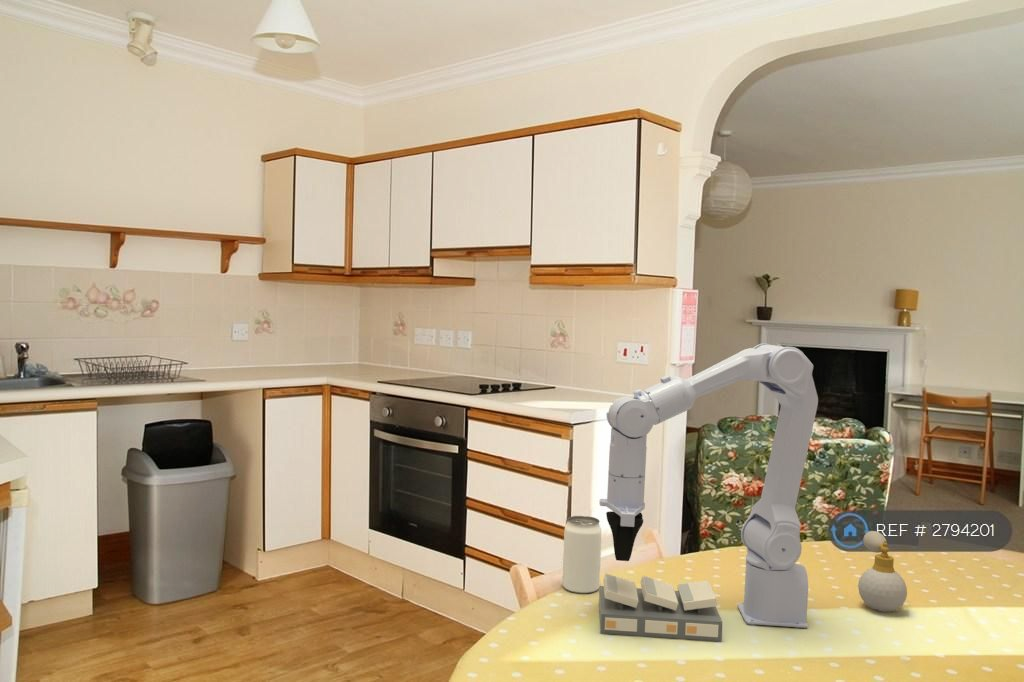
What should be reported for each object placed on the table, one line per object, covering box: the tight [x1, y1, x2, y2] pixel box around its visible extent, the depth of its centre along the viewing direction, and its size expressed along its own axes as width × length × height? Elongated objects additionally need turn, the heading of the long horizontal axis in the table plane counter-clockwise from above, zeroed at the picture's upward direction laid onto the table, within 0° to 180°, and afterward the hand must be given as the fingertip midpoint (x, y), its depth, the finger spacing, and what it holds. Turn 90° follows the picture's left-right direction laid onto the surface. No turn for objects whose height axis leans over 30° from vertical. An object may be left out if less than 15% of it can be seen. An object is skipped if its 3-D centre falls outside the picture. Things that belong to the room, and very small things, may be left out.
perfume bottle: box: [857, 530, 908, 613], centre depth 137 cm, size 8×10×12 cm
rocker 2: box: [676, 579, 718, 610], centre depth 127 cm, size 5×8×1 cm, turn 175°
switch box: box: [598, 585, 723, 642], centre depth 128 cm, size 18×12×4 cm
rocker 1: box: [602, 573, 639, 608], centre depth 128 cm, size 5×8×1 cm, turn 175°
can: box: [562, 515, 603, 595], centre depth 141 cm, size 6×6×12 cm
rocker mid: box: [640, 575, 678, 610], centre depth 128 cm, size 5×8×1 cm, turn 175°
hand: (622, 559), depth 128 cm, fingers closed
